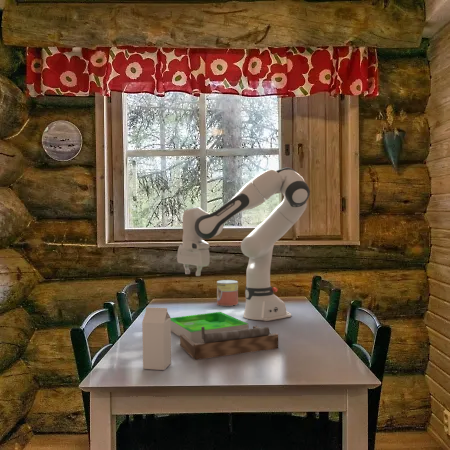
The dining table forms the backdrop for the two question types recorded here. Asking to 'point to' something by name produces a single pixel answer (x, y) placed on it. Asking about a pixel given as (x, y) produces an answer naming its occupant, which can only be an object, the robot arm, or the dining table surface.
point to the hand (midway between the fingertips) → (192, 274)
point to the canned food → (227, 292)
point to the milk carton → (156, 338)
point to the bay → (230, 342)
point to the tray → (205, 325)
